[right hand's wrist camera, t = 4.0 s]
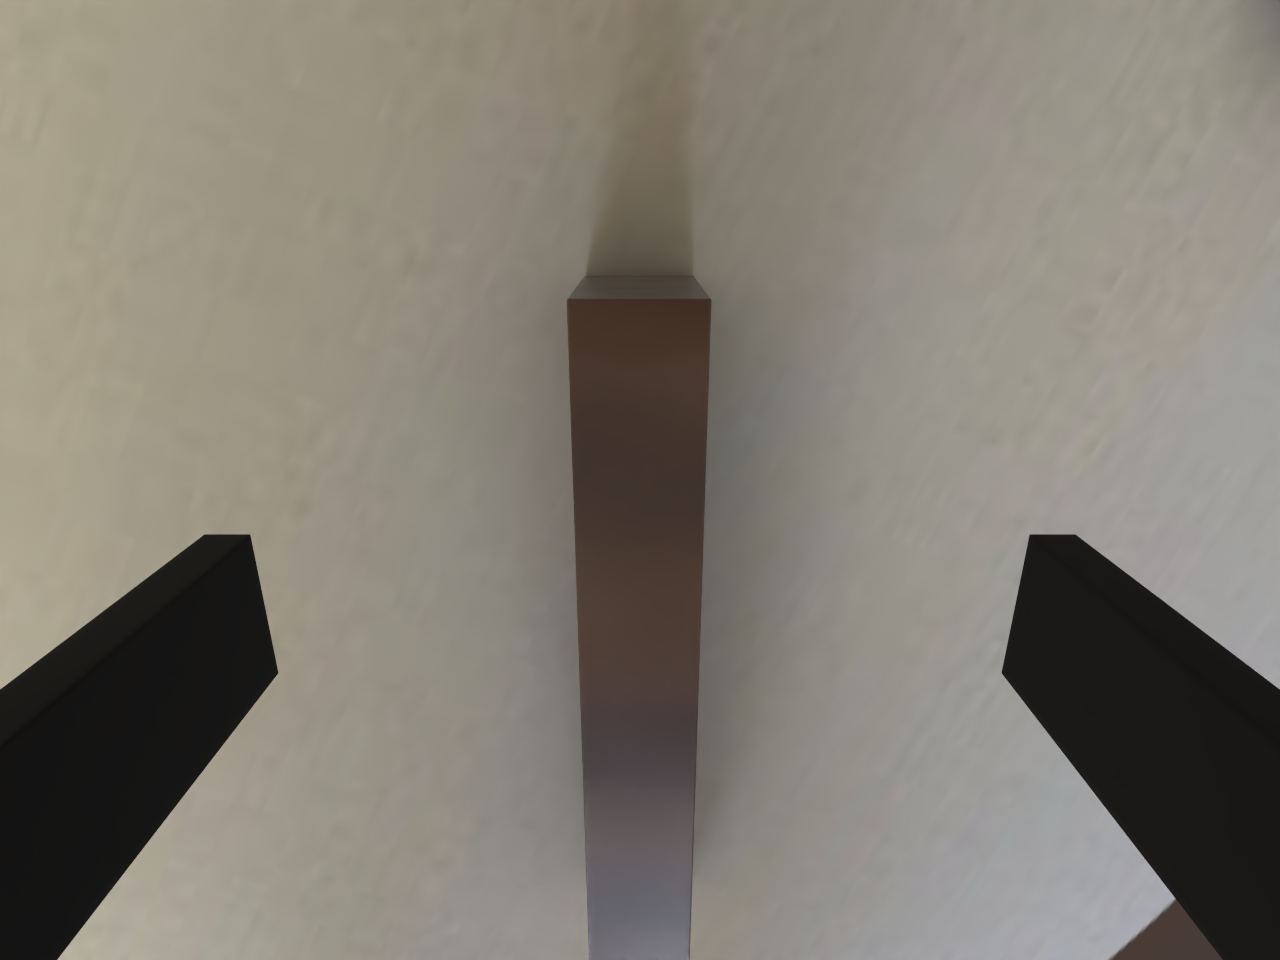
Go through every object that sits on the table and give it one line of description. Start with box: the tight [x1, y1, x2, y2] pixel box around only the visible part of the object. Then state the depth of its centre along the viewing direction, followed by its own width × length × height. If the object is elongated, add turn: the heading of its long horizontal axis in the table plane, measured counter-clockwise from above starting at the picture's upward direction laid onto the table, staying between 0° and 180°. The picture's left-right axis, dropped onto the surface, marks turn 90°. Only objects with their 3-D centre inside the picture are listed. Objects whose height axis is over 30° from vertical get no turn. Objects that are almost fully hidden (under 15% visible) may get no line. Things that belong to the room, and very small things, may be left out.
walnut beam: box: [567, 276, 711, 960], centre depth 29 cm, size 30×4×7 cm, turn 0°
